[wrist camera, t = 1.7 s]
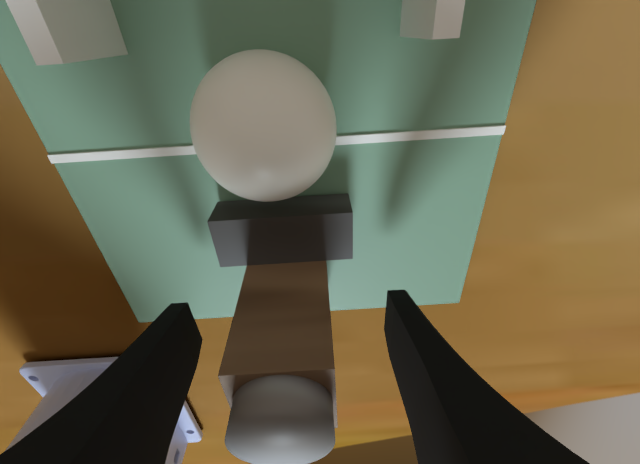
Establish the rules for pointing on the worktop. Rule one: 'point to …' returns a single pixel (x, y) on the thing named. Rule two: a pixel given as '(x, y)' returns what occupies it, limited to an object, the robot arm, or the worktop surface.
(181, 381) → the robot arm
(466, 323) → the worktop surface
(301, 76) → the ball
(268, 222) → the kicker
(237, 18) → the board
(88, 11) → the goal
